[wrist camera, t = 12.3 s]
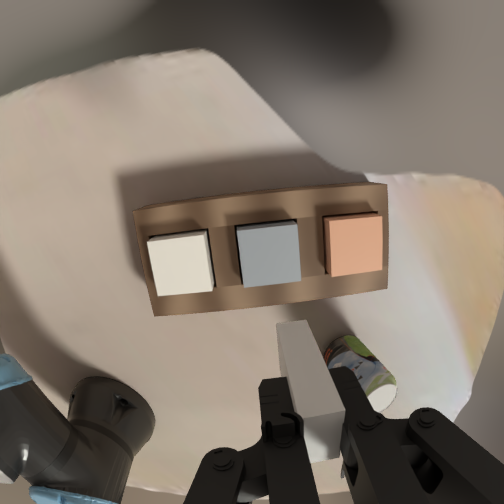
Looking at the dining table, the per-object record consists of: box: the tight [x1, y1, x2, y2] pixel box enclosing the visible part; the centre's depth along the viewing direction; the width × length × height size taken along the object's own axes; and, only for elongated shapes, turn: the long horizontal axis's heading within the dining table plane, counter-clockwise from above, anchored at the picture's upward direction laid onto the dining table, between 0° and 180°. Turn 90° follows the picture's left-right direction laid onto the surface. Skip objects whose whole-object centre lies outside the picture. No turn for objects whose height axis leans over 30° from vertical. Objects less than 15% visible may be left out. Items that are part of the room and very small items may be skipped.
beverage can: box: [323, 335, 398, 413], centre depth 35 cm, size 6×7×12 cm
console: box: [133, 182, 389, 316], centre depth 34 cm, size 27×12×5 cm, turn 96°
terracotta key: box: [322, 212, 383, 277], centre depth 32 cm, size 6×6×4 cm
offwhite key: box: [147, 228, 215, 296], centre depth 32 cm, size 6×6×4 cm
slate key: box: [237, 219, 301, 288], centre depth 32 cm, size 6×6×4 cm
